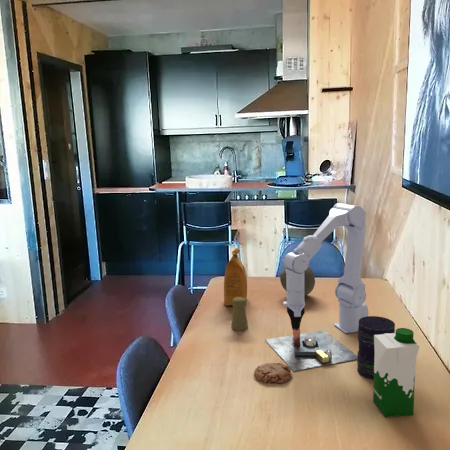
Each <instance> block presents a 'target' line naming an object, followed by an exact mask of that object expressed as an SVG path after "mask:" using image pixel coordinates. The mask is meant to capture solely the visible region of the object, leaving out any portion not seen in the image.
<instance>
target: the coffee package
mask: <svg viewBox="0 0 450 450" xmlns="http://www.w3.org/2000/svg"><path fill="white" fill-rule="evenodd" d="M240 252H241V250H240V248H238V247H236V248H235V249H233V251H231V254H232V256H231V258H230V260H229V261H228V262H227V264H226V266H225V270H224V271H225V272H224V276H223V277H224V278H223V279H224V280H223V302H224V306H225V307H228V306H229V307H230V306H232V300H233V299H234V298H236V297H242V298H245V300H246V301H247V298H248V279H247V277H248V276H247V273H246V268H245V266H244V265H243V263H242V261H241V260H240V258H239V255H238V254H239V253H240Z"/></svg>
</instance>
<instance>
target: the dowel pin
mask: <svg viewBox="0 0 450 450" xmlns="http://www.w3.org/2000/svg"><path fill="white" fill-rule="evenodd" d="M326 355H327V356H329V361H331V360H332V351H331V350H327V351H326Z"/></svg>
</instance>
